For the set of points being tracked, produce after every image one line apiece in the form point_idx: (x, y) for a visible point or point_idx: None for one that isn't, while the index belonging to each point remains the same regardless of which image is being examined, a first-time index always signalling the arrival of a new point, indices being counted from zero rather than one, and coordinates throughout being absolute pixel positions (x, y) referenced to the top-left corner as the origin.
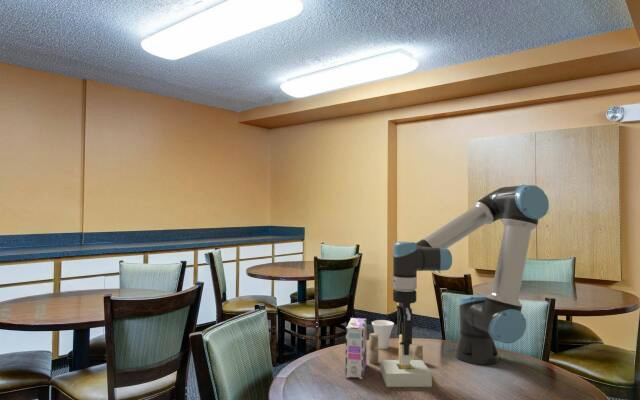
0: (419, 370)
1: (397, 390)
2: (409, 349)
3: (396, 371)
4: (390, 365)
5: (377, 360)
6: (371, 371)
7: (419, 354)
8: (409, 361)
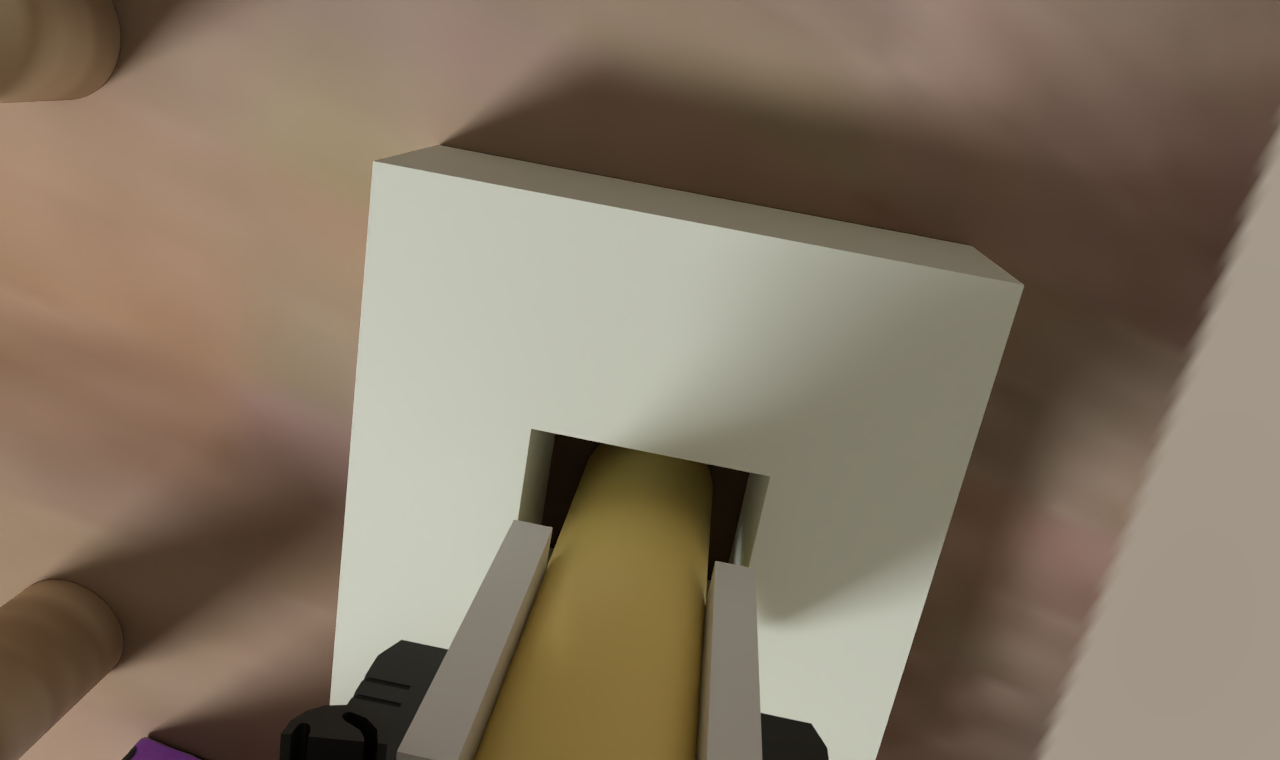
0: (839, 419)
1: (948, 689)
2: (756, 750)
3: None
4: None
5: (79, 626)
6: None
7: (10, 30)
8: (755, 607)
